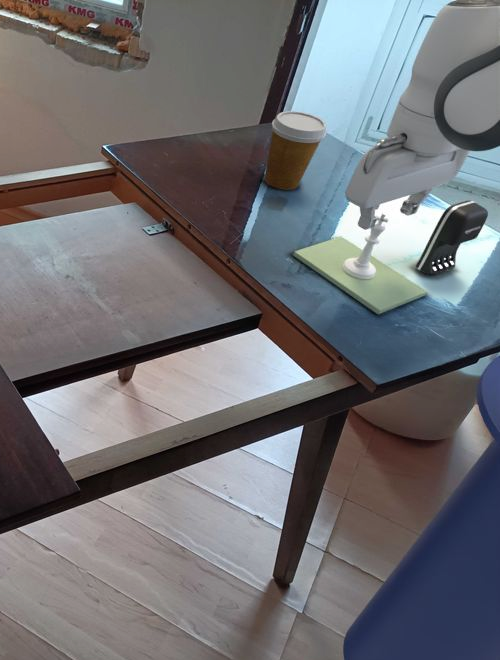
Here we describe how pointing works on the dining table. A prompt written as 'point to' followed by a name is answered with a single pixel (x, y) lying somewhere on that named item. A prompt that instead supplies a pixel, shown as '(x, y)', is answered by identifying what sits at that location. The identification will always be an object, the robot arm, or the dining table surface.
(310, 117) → the disposable coffee cup
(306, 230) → the dining table surface
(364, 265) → the chess piece
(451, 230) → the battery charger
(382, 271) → the mat
